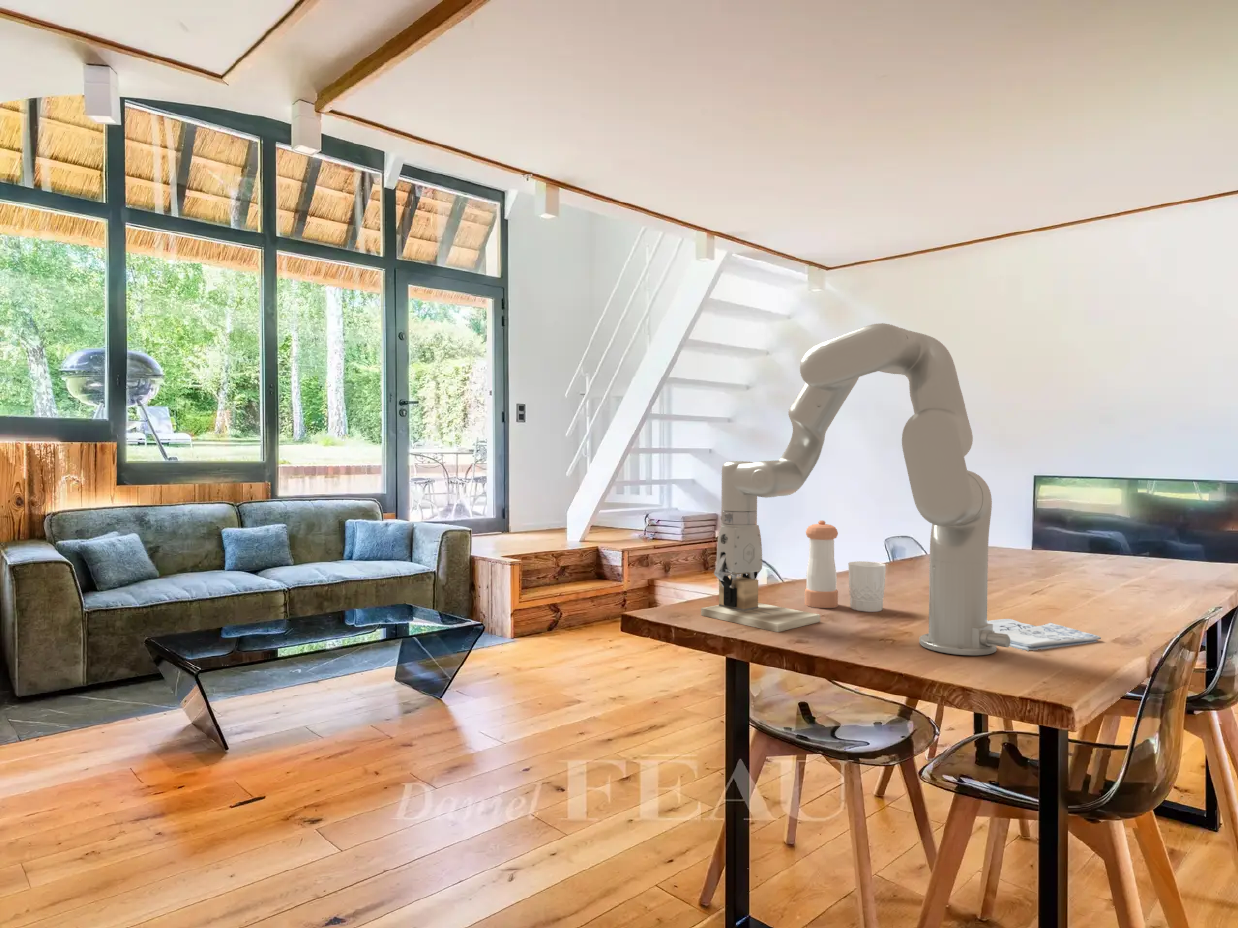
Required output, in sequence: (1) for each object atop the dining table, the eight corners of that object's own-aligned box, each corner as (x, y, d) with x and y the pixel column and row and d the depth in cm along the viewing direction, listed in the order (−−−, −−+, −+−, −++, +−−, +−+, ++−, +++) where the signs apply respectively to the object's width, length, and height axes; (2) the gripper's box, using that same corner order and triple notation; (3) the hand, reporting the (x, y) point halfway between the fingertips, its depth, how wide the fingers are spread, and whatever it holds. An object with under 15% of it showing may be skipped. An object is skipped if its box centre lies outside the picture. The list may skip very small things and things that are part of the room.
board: (820, 621, 160) (820, 614, 160) (777, 632, 151) (777, 624, 151) (743, 606, 175) (743, 599, 175) (701, 615, 166) (701, 608, 166)
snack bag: (1028, 655, 137) (1028, 642, 137) (940, 630, 155) (940, 619, 155) (1103, 645, 144) (1103, 633, 144) (1011, 622, 163) (1011, 612, 163)
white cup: (847, 611, 170) (848, 565, 170) (848, 604, 178) (848, 560, 178) (885, 613, 168) (886, 567, 168) (884, 606, 176) (885, 562, 175)
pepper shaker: (841, 608, 173) (842, 522, 173) (808, 608, 174) (809, 521, 173) (833, 601, 181) (833, 519, 180) (801, 601, 181) (802, 519, 181)
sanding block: (757, 608, 166) (758, 579, 166) (744, 610, 163) (744, 582, 163) (732, 603, 171) (732, 575, 171) (718, 605, 168) (719, 577, 168)
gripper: (726, 522, 158) (725, 612, 159) (777, 518, 169) (777, 602, 170) (698, 520, 164) (698, 606, 164) (750, 515, 175) (749, 597, 175)
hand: (738, 603), depth 167 cm, fingers closed on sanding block, 4 cm apart
